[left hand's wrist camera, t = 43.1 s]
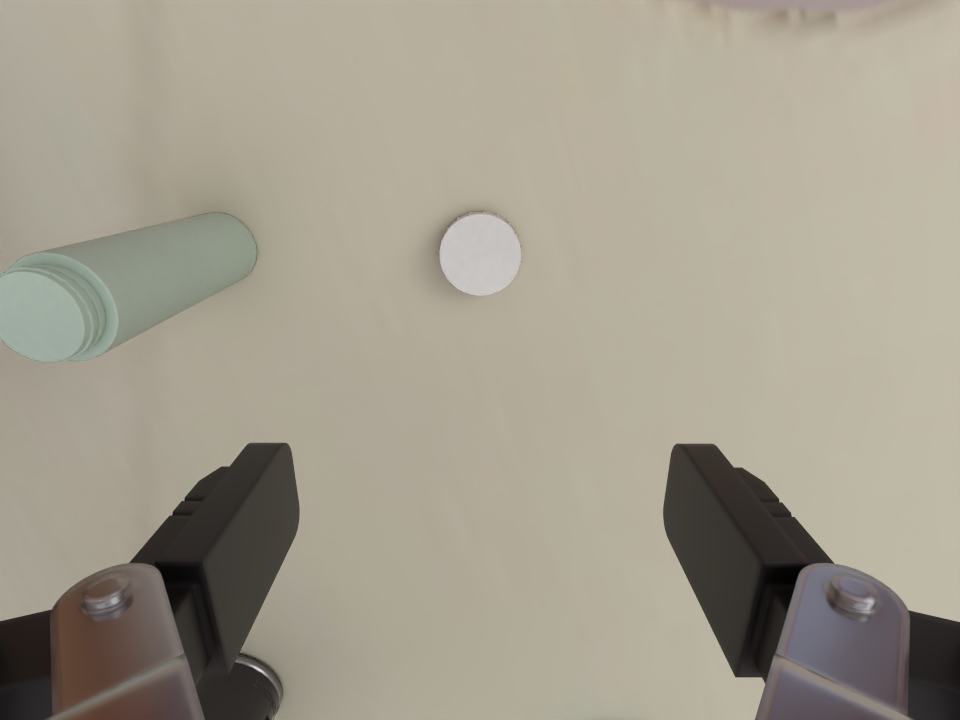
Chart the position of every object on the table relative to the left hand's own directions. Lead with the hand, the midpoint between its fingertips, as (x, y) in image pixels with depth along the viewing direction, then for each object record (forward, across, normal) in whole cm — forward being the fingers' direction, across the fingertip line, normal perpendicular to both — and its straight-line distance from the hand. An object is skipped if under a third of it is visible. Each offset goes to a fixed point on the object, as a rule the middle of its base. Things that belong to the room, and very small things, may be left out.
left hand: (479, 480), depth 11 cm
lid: (+27, 0, 0) cm, 27 cm away
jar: (+28, +18, 0) cm, 33 cm away
